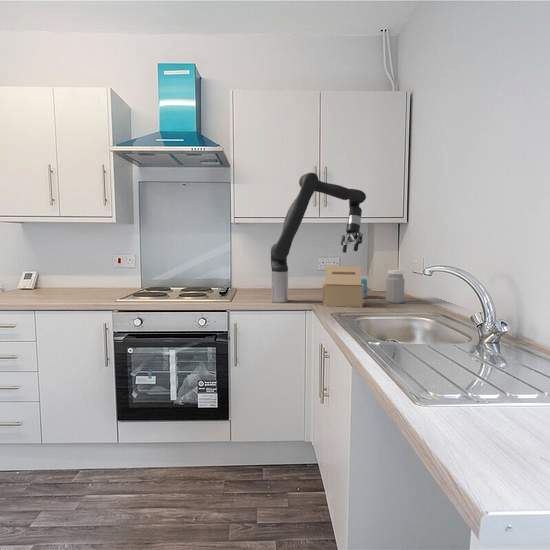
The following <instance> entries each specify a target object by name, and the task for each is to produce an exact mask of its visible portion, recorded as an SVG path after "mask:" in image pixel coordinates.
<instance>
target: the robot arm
mask: <svg viewBox="0 0 550 550" xmlns="http://www.w3.org/2000/svg"><path fill="white" fill-rule="evenodd" d="M298 185H299V187H300V190H299V192H298V194H297V196H296V198H295V199H293V202H292V203H291V205H290V206H289V208H288V210H287V213H286V216H285V218H284V222H283V225H282V231H281V234H280V236H279V237H278V240H277V242H276V243H273V244H272V246H271V248H270V266H271V267H270V268H271V302H272V303H287V302H288V301H289V267H288V262H287V261H288V259H287V258H288V256H289V253H290V250H291V247H292V243H293V241H294V238H295V236H296V234H297V232H298V230H299V227H300V226H301V223H302V221H303V218H304V217H305V214H306V211H307V209H308V206H309V204H310V200H311V198H312V197H313V195H314V193H316V192H317V193H320V194H324V195H328V196H331V197H334V198H336V199H340V200H342V201H347V200H348V206H349V213H348V218H347V222H346V231H345V232H346V235H344V234H343V235H341V240H340V245H341V246H342V253H344V254H347V249H348V245H349V244H350V243H352V242H353V243H354V244H353V251H354V252H358V249H359V245H360V244H362V243H363V236H364V235H363V233H362V232H360V229H361V222H362V213H363V210H362V208H361V206H360V204H361V203H364V202H365V201H366V199H367V195H366V193H365V192H364V191H362V190H361V189H355V188H348V187H345V186H342V185H338V184H335V183H329V182H325V181H322V180H320V179H319V177H318V175H317V174H316V173H314V172H308V173H305V174H303V175H301V176H300V178H299V181H298Z"/></svg>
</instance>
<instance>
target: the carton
mask: <svg viewBox="0 0 550 550" xmlns="http://www.w3.org/2000/svg"><path fill="white" fill-rule="evenodd" d="M362 295H363V298H362ZM364 299H365V298H364V284H363V283H361V285H333V284H325V282H324V283H323V285H322V304H323V306H324V305H328V306H327V307H339V306H345V308H363V306H364V301H365V300H364Z"/></svg>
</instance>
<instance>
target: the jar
mask: <svg viewBox="0 0 550 550" xmlns="http://www.w3.org/2000/svg"><path fill="white" fill-rule="evenodd" d="M385 279H386V282H385V285H386V286H385V302H387V303H388V302H390V303H389V304H397V303H398V304H403V303H404V301H405V281H406V280H405V278H404V270H403V269H388V270H387V277H386V278H385ZM402 302H403V303H402Z"/></svg>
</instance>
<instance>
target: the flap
mask: <svg viewBox="0 0 550 550" xmlns="http://www.w3.org/2000/svg"><path fill="white" fill-rule="evenodd" d="M362 267H363V266H361V265H359V266H357V265H355V266H353V265H352V266H351V265H350V266H348V265H325V279H324V281H325V282H324V283H325V284H333V285H361V278H362V271H363V270H362Z"/></svg>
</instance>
